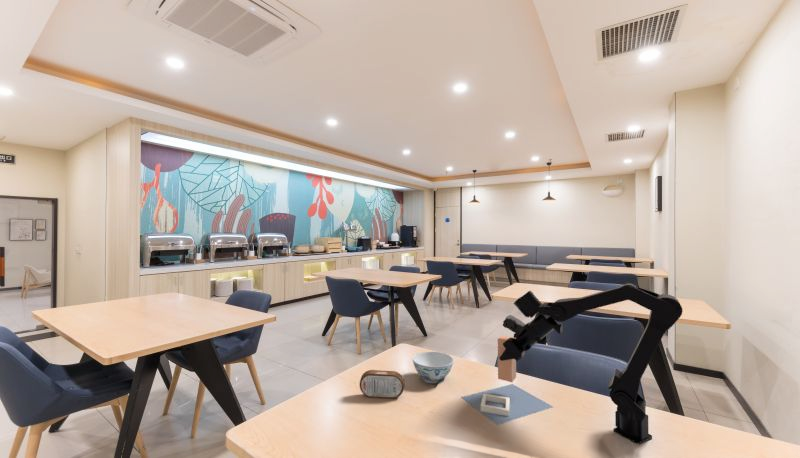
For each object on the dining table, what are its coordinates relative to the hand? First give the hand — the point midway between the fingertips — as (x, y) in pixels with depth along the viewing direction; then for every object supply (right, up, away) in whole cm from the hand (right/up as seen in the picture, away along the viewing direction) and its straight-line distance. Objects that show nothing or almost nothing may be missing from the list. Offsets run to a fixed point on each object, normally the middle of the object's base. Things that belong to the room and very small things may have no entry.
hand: (502, 357), depth 109 cm
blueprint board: (-1, -13, -6) cm, 14 cm away
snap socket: (-5, -12, -9) cm, 16 cm away
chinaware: (-22, -13, +13) cm, 29 cm away
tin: (-40, -13, 0) cm, 42 cm away
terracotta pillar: (+1, -7, -1) cm, 7 cm away
